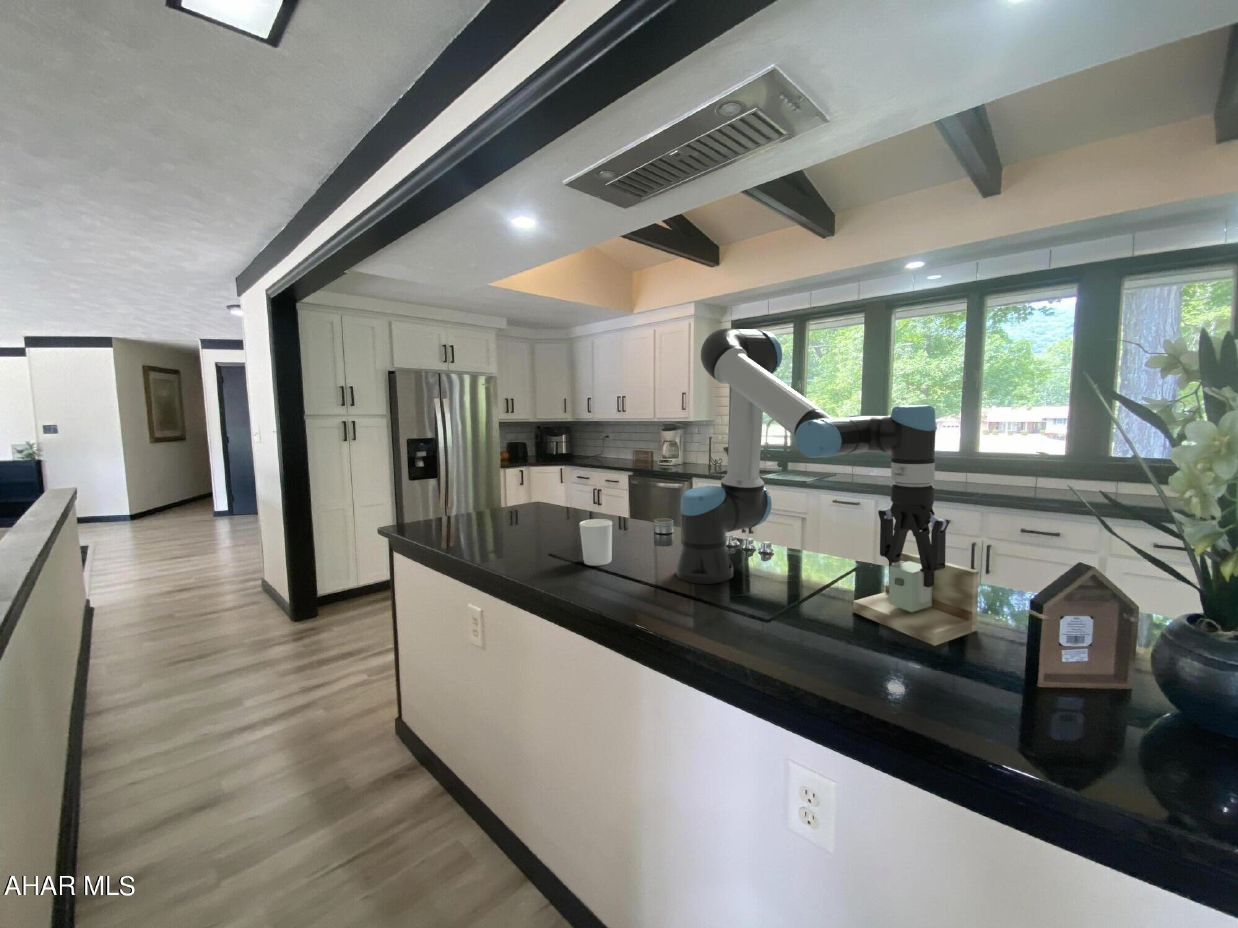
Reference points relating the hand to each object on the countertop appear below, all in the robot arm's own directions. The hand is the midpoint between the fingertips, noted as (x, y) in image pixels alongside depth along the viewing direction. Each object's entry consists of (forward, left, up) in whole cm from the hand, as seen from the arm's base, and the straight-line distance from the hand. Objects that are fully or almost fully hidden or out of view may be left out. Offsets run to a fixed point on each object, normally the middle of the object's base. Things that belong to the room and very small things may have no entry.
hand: (910, 596), depth 105 cm
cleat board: (0, +1, -5) cm, 6 cm away
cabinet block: (0, 0, -2) cm, 2 cm away
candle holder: (-73, -39, -6) cm, 83 cm away
